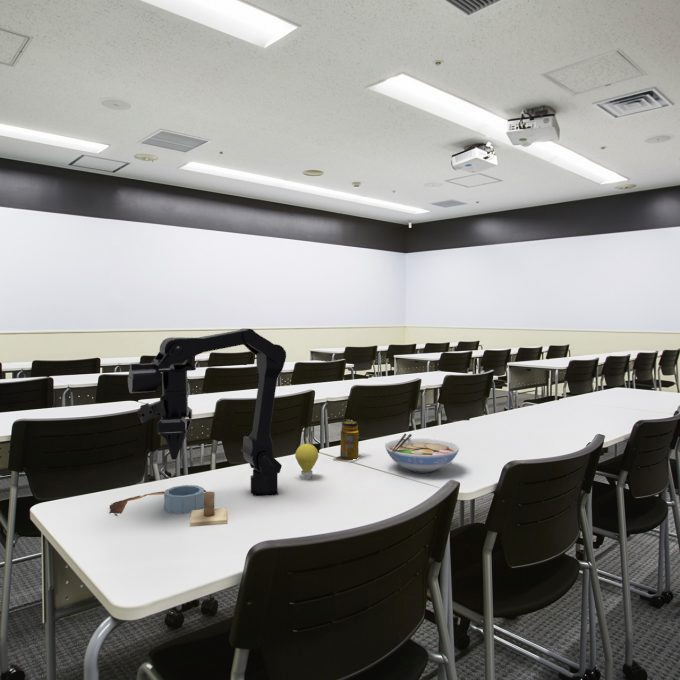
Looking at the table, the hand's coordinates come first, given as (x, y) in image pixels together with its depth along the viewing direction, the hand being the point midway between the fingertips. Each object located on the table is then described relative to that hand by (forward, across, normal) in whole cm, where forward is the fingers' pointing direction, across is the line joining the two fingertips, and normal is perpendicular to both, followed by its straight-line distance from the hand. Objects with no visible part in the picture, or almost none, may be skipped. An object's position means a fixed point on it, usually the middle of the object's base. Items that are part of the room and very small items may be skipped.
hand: (176, 454), depth 130 cm
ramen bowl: (+15, -24, +70) cm, 75 cm away
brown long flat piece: (+14, -7, -6) cm, 17 cm away
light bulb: (+14, -20, +34) cm, 42 cm away
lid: (+13, +9, +8) cm, 18 cm away
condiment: (+15, -41, +50) cm, 67 cm away
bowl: (+13, +1, +2) cm, 13 cm away
